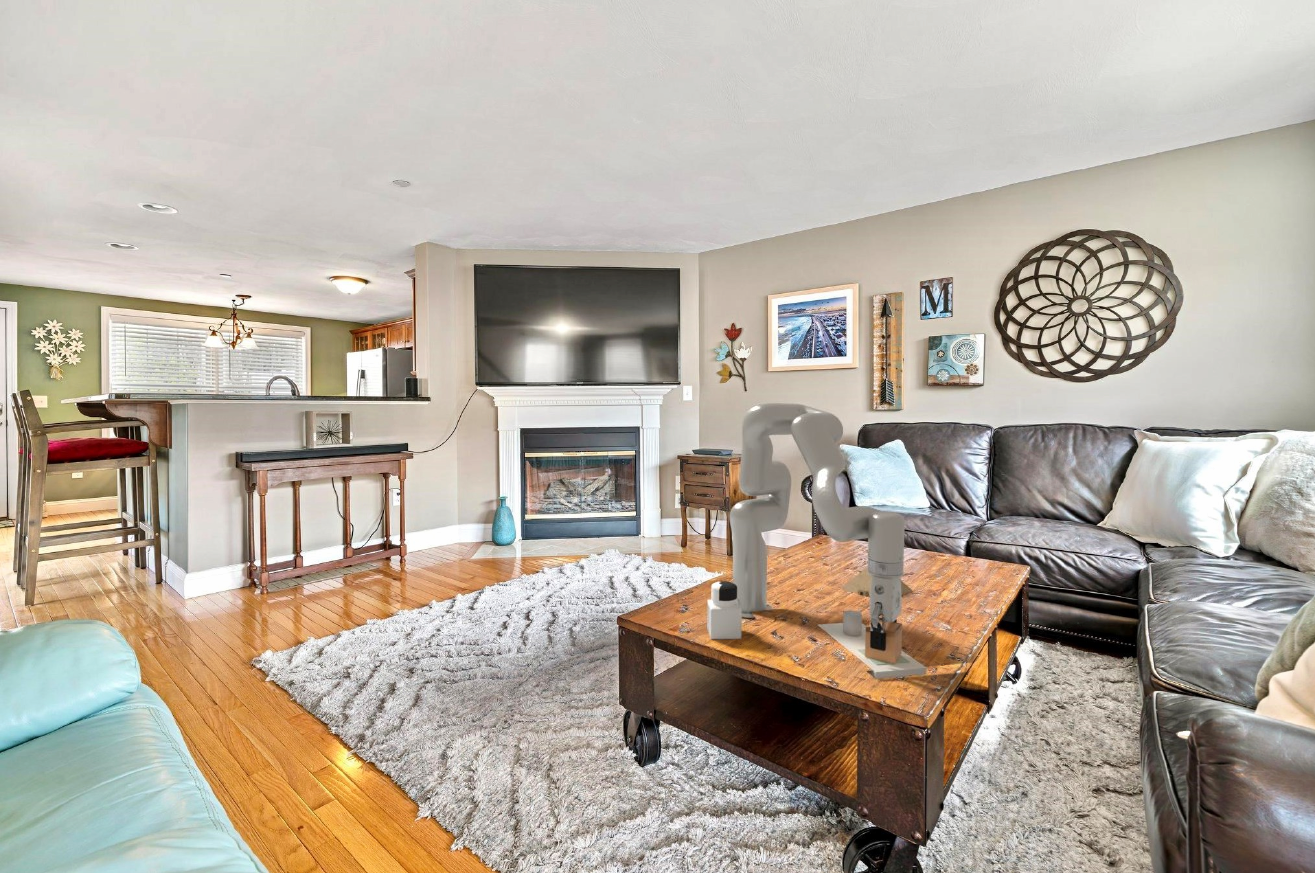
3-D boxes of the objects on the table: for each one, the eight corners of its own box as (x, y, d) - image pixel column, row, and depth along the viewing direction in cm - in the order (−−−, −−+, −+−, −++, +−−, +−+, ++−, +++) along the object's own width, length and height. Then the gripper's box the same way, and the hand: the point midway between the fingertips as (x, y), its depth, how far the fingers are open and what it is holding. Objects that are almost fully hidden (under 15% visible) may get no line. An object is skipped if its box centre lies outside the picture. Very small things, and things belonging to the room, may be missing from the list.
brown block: (894, 663, 130) (895, 632, 130) (864, 656, 134) (865, 626, 133) (901, 653, 135) (902, 623, 135) (872, 647, 139) (873, 618, 138)
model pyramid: (837, 590, 189) (837, 559, 189) (865, 580, 201) (866, 550, 200) (887, 603, 177) (887, 570, 176) (914, 591, 188) (914, 560, 188)
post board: (875, 678, 127) (876, 648, 126) (817, 630, 154) (817, 605, 154) (926, 674, 129) (927, 645, 128) (859, 627, 156) (860, 602, 156)
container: (736, 627, 156) (736, 578, 155) (741, 639, 148) (742, 587, 147) (707, 628, 155) (707, 579, 155) (710, 639, 148) (711, 588, 147)
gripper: (893, 579, 124) (891, 659, 125) (911, 561, 138) (909, 633, 139) (857, 573, 128) (855, 650, 129) (878, 556, 143) (876, 626, 143)
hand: (883, 641), depth 134 cm, fingers open, 9 cm apart
